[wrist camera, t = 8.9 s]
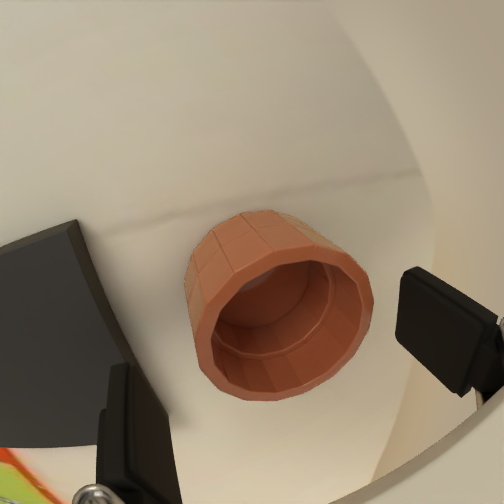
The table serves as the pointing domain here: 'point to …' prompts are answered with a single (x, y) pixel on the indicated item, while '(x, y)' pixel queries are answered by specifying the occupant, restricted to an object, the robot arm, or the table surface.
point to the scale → (54, 342)
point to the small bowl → (274, 306)
